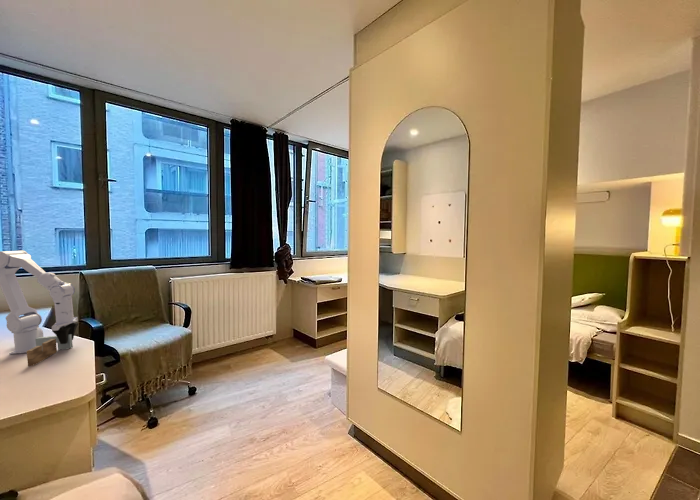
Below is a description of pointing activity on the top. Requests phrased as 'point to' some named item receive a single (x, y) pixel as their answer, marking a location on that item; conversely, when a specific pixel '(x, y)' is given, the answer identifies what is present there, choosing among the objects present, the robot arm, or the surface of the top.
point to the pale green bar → (60, 346)
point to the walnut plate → (41, 352)
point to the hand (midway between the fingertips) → (66, 341)
